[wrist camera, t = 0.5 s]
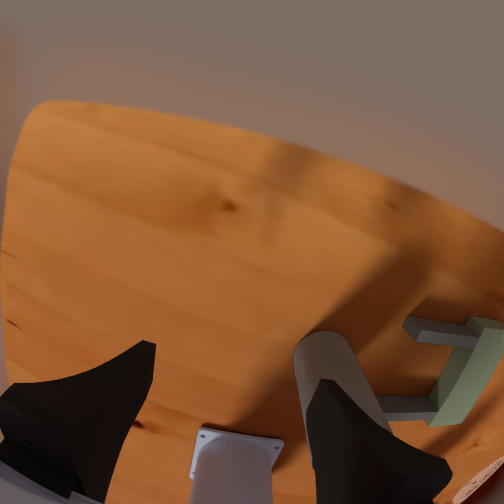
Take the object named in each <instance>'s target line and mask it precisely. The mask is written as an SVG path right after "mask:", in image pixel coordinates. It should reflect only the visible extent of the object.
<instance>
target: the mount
mask: <svg viewBox="0 0 504 504" xmlns="http://www.w3.org/2000/svg"><path fill="white" fill-rule="evenodd" d="M403 328H404V329H405V330H406V331H407V332H408V333H409V334H410V336H411V337H412V338H413V339H414V340H415V341H416V342H420V343H429V344H438V345H447V346H455V348H454V350H453V352H452V354H451V356H450V358H449V360H448V362H447V364H446V366H445V368H444V370H443V371H442V373H441V375H440V377H439V379H438V380H437V382H436V384H435V386H434V387H433V389H432V391H431V393H430V394H429V396H384V395H375V397H376V399H377V401H378V403H379V405H380V407H381V409H382V411H383V413H384V415H385V417H386V419H387V421H414V420H424V421H425V422H426V424H427V426H428V427H433V426H444V425H453V424H461V423H462V422H463V420H464V419H465V417H466V416H467V414H468V413H469V411H470V410H471V408H472V407H473V405H474V404H475V402H476V401H477V399H478V398H479V396H480V394H481V393H482V391H483V389H484V388H485V386H486V384H487V383H488V381H489V379H490V377H491V376H492V374H493V372H494V370H495V368H496V367H497V365H498V363H499V361H500V359H501V357H502V355H503V353H504V324H503V323H502V322H500V321H498V320H492V319H487V318H481V317H476V316H470V315H469V317H468V320H467V322H466V324H465V325H460V324H453V323H447V322H441V321H435V320H429V319H424V318H418V317H412V316H407V318H406V321H405V323H404V325H403Z"/></svg>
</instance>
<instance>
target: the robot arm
mask: <svg viewBox="0 0 504 504" xmlns="http://www.w3.org/2000/svg"><path fill="white" fill-rule="evenodd" d="M155 351H156V344H154V343H151V342H148V341H144V340H142V341H140V342H139V343H137V344H136V345H134V346H133V347H131V348H130V349H128V350H126V351H125V352H123V353H122V354H120V355H118V356H117V357H115V358H113V359H111V360H110V361H108V362H106V363H104V364H102V365H100V366H98V367H96V368H93V369H91V370H89V371H86V372H83V373H80V374H77V375H74V376H70V377H66V378H62V379H58V380H52V381H45V382H36V383H14V384H12V385H11V386H10V387H9V388H8V389H7V390H6V391H5V392H4V393H3V394H2V395H1V397H0V429H1V431H2V433H3V436H4V440H3V441H2V442H1V443H0V504H104V503H105V499H106V495H107V491H108V488H109V484H110V481H111V478H112V474H113V471H114V468H115V465H116V462H117V459H118V456H119V454H120V451H121V448H122V445H123V443H124V440H125V438H126V436H127V434H128V432H129V430H130V428H131V426H132V424H133V422H134V420H135V418H136V417H137V415H138V413H139V411H140V409H141V407H142V405H143V403H144V401H145V399H146V397H147V395H148V392H149V389H150V386H151V384H152V381H153V371H154V361H155ZM306 427H307V434H308V439H309V445H310V449H311V454H312V459H313V464H314V469H315V477H316V496H317V504H434V502H433V499H434V498H435V497H436V496H437V495H438V494H439V493H440V492H441V491H442V490H443V489H444V488H445V487H446V486H447V485H448V483H449V482H450V480H451V478H452V475H453V472H452V471H451V469H450V467H449V465H448V463H447V461H446V460H445V459H443V458H440V457H437V456H434V455H431V454H428V453H426V452H423V451H421V450H419V449H417V448H415V447H413V446H411V445H409V444H407V443H405V442H403V441H402V440H400V439H398V438H397V437H395V436H394V435H392V434H391V433H389V432H388V431H386V430H385V429H384V428H382V427H381V426H380V425H379V424H377V423H376V422H375V421H374V420H373V419H372V418H371V417H369V416H368V415H367V414H366V413H365V412H364V411H363V410H362V409H361V408H360V407H359V406H358V405H357V404H356V403H355V402H354V401H353V400H352V399H351V398H350V396H349V395H348V394H347V393H346V392H345V391H344V390H343V389H342V388H341V387H340V386H339V385H338V384H337V383H336V382H335V381H334V380H331V379H323V378H321V379H320V381H319V384H318V386H317V388H316V390H315V393H314V395H313V397H312V399H311V401H310V403H309V405H308V408H307V410H306ZM283 446H284V441H283V440H281V439H273V438H265V437H257V436H250V435H244V434H237V433H232V432H226V431H221V430H215V429H210V428H206V427H201V428H199V430H198V435H197V440H196V445H195V450H194V455H193V460H192V465H191V470H190V475H189V477H190V478H191V479H193V484H192V489H191V495H190V500H189V504H273V493H272V471H271V469H272V467H273V465H274V463H275V461H276V459H277V457H278V456H279V454H280V452H281V450H282V448H283Z"/></svg>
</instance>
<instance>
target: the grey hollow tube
mask: <svg viewBox="0 0 504 504" xmlns="http://www.w3.org/2000/svg"><path fill="white" fill-rule="evenodd" d="M293 366H294V371H295V376H296V382H297V387H298V393H299V398H300V403H301V409H302V414H303V420H304V426H305V431H306V437H307V443H308V448H309V454H310V460H311V465H312V468H313V469H314V464H313V459H312V454H311V449H310V445H309V439H308V434H307V427H306V410H307V408H308V405H309V403H310V401H311V399H312V397H313V395H314V393H315V390H316V388H317V386H318V384H319V381H320V379H321V378H323V379H331V380H334V381H335V382H336V383H337V384H338V385H339V386H340V387H341V388H342V389H343V390H344V391H345V392H346V393H347V394H348V395H349V396H350V398H351V399H352V400H353V401H354V402H355V403H356V404H357V405H358V406H359V407H360V408H361V409H362V410H363V411H364V412H365V413H366V414H367V415H368V416H369V417H371V418H372V419H373V420H374V421H375V422H376V423H377V424H379V425H380V426H381V427H382V428H384V429H385V430H386V431H388V432H389V433H391V434H392V435H393V432H392V430H391V428H390V426H389V424H388V422H387V419H386V417H385V415H384V413H383V411H382V409H381V407H380V405H379V403H378V401H377V399H376V397H375V395H374V393H373V391H372V389H371V387H370V385H369V383H368V380H367V378H366V376H365V374H364V373H363V371H362V369H361V367H360V365H359V363H358V361H357V359H356V357H355V355H354V353H353V351H352V349H351V347H350V345H349V343H348V342H347V340H346V339H345V338H344V337H343V336H342V335H340V334H339V333H337V332H333V331H318V332H315V333H312V334H310V335H308V336H306V337H305V338H304V339H302V340H301V341H300V342H299V344H298V345H297V346H296V348H295V350H294V353H293ZM314 470H315V469H314Z"/></svg>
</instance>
